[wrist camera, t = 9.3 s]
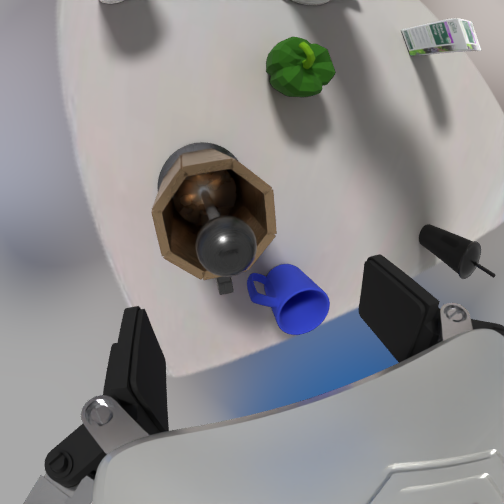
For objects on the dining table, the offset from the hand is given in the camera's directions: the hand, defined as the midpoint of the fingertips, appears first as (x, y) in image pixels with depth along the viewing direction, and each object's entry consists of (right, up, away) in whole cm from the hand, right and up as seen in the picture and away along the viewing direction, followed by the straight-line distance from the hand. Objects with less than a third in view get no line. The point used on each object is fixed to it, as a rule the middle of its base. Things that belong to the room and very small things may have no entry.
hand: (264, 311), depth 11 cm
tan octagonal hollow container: (-8, +11, +28) cm, 31 cm away
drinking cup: (+37, +6, +42) cm, 57 cm away
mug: (+3, -2, +36) cm, 37 cm away
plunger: (-6, +9, +22) cm, 25 cm away
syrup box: (+30, +42, +24) cm, 57 cm away
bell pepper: (+4, +28, +24) cm, 37 cm away
